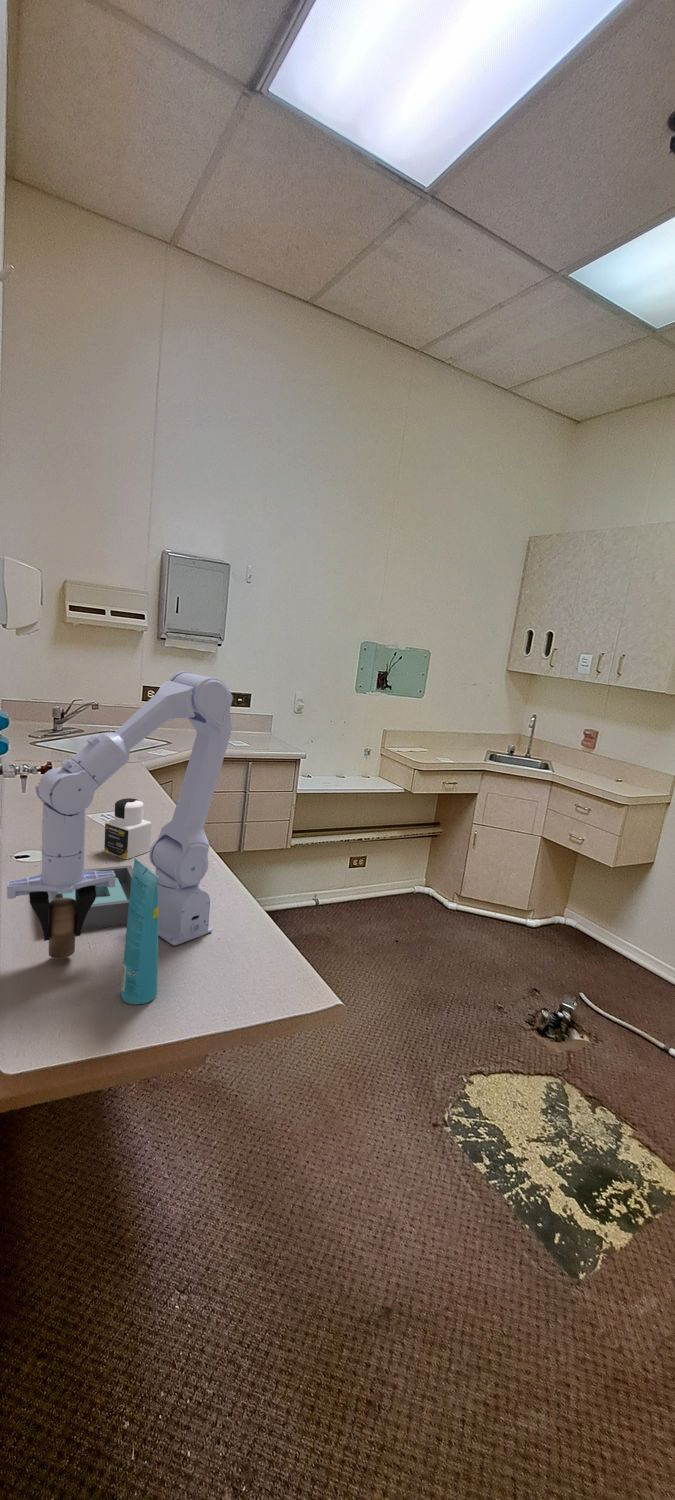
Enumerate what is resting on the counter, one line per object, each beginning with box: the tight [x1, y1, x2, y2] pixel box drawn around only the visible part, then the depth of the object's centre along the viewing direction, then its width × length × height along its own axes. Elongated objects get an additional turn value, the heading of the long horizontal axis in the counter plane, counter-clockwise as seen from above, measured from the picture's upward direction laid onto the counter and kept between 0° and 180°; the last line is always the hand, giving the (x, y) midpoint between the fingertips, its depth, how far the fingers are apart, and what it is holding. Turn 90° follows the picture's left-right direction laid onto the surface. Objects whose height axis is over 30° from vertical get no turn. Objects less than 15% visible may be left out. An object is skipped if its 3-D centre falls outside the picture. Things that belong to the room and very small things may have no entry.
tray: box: [48, 864, 133, 931], centre depth 108 cm, size 16×16×4 cm
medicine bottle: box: [103, 797, 152, 860], centre depth 134 cm, size 7×7×12 cm
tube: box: [120, 857, 159, 1005], centre depth 83 cm, size 7×5×19 cm, turn 47°
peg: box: [48, 898, 76, 959], centre depth 90 cm, size 4×4×8 cm
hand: (62, 935), depth 90 cm, fingers closed on peg, 4 cm apart
